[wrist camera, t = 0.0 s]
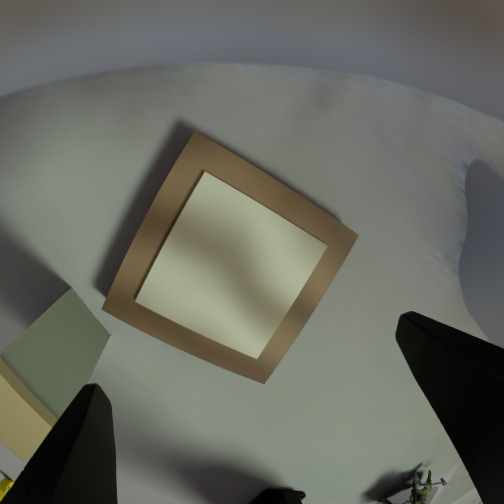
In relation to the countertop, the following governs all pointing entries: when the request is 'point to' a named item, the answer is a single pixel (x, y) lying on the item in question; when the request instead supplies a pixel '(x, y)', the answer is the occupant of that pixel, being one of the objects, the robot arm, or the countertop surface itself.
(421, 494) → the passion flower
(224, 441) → the countertop surface
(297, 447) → the countertop surface
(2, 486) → the watch
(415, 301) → the countertop surface
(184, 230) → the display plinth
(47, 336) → the tea tin
